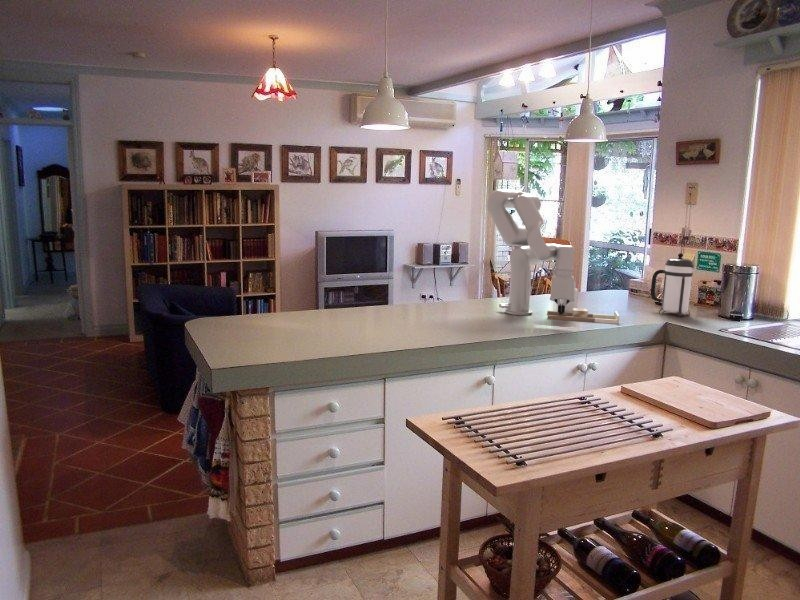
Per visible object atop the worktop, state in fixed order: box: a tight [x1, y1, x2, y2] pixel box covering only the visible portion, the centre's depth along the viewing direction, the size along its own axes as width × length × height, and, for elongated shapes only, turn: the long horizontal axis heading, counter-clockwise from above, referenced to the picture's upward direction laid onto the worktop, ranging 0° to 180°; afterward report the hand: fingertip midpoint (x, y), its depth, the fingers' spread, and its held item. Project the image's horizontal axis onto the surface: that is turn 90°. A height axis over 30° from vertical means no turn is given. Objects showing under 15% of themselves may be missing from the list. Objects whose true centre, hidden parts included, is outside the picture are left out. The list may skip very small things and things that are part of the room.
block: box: [572, 307, 589, 318], centre depth 282 cm, size 6×6×4 cm
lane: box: [546, 310, 620, 325], centre depth 282 cm, size 30×12×5 cm, turn 78°
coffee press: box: [650, 252, 696, 318], centre depth 309 cm, size 17×16×30 cm
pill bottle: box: [560, 282, 579, 312], centre depth 302 cm, size 8×8×15 cm
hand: (560, 313), depth 284 cm, fingers closed
